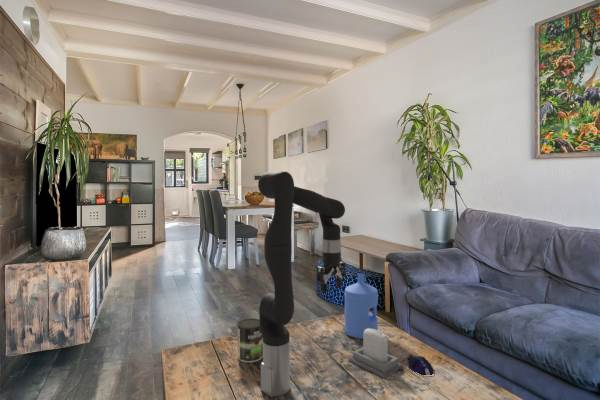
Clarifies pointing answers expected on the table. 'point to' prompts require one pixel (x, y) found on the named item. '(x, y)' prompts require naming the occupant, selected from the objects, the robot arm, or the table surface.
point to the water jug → (360, 308)
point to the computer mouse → (420, 365)
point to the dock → (375, 364)
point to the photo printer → (375, 345)
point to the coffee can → (249, 341)
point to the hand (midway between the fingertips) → (331, 289)
